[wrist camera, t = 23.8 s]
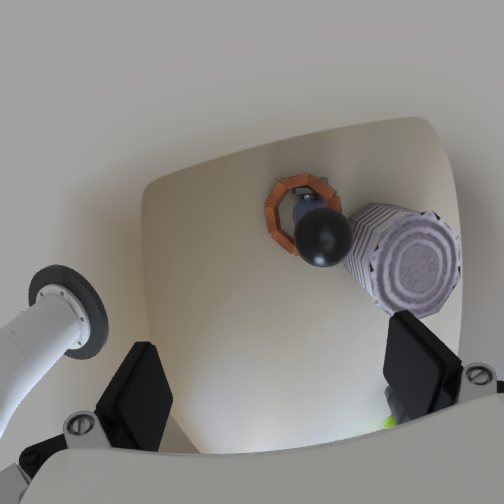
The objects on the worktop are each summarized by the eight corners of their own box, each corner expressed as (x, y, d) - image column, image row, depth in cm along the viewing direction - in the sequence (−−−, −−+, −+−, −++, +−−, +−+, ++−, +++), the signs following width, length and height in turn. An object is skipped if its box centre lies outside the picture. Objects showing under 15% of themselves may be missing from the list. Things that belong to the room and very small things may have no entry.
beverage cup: (419, 380, 43) (467, 453, 23) (393, 406, 44) (430, 482, 25) (397, 368, 42) (448, 450, 22) (370, 397, 43) (407, 482, 24)
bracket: (296, 243, 36) (300, 250, 33) (290, 180, 34) (294, 180, 31) (330, 240, 36) (337, 246, 33) (325, 177, 34) (332, 177, 31)
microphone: (297, 279, 19) (360, 274, 19) (292, 212, 18) (358, 207, 18) (291, 233, 34) (327, 230, 34) (288, 195, 33) (325, 192, 33)
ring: (277, 254, 36) (272, 257, 35) (264, 182, 34) (259, 183, 33) (347, 249, 31) (344, 252, 30) (334, 169, 29) (331, 169, 28)
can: (347, 293, 38) (379, 337, 26) (329, 214, 35) (362, 232, 24) (416, 268, 37) (463, 300, 25) (404, 192, 34) (457, 201, 23)
